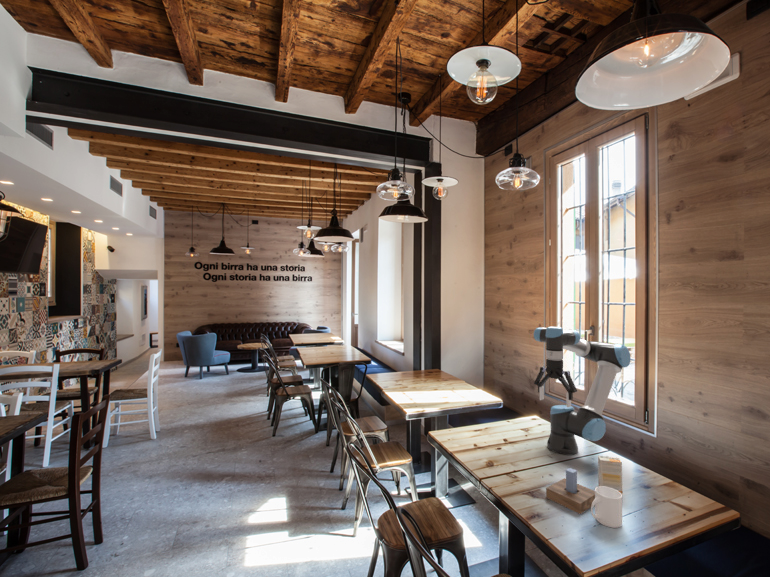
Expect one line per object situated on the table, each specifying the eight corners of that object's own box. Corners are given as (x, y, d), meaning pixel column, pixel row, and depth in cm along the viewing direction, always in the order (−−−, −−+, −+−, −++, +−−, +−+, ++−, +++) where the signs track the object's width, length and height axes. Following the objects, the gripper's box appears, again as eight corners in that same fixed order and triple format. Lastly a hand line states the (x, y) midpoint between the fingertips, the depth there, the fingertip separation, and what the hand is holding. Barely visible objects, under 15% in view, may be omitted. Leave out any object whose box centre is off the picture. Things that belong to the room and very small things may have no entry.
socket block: (564, 487, 159) (564, 478, 159) (598, 502, 148) (598, 492, 148) (546, 497, 151) (546, 487, 151) (580, 514, 140) (580, 503, 140)
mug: (582, 517, 138) (582, 488, 138) (608, 512, 141) (608, 484, 141) (600, 531, 130) (600, 501, 130) (628, 526, 133) (627, 496, 133)
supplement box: (619, 488, 159) (619, 457, 159) (622, 493, 155) (622, 462, 155) (597, 484, 162) (597, 454, 162) (600, 490, 157) (600, 459, 157)
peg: (569, 497, 152) (569, 467, 152) (577, 500, 149) (577, 470, 150) (566, 499, 150) (565, 469, 150) (573, 502, 148) (573, 472, 148)
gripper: (526, 356, 185) (527, 398, 185) (576, 363, 165) (577, 411, 165) (535, 354, 189) (535, 395, 189) (584, 362, 169) (585, 408, 169)
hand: (554, 403), depth 177 cm, fingers open, 13 cm apart
